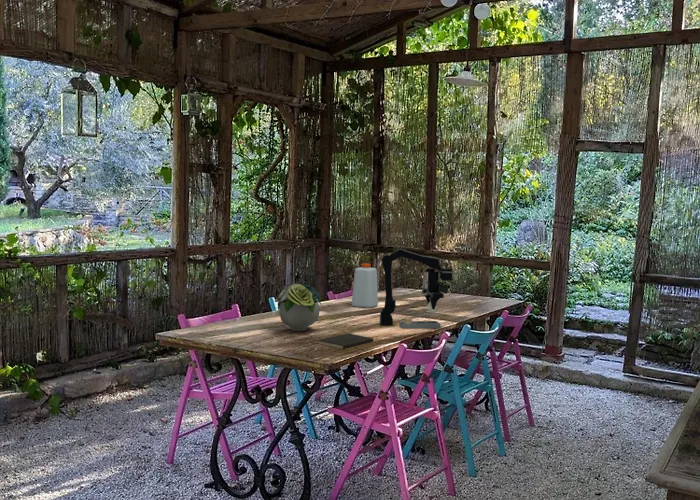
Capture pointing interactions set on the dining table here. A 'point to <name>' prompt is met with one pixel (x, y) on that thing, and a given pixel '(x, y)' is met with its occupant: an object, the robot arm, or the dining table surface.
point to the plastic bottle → (365, 287)
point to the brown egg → (407, 320)
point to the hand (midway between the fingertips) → (432, 308)
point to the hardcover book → (345, 341)
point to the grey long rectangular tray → (419, 324)
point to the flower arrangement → (298, 306)
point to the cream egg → (431, 308)
